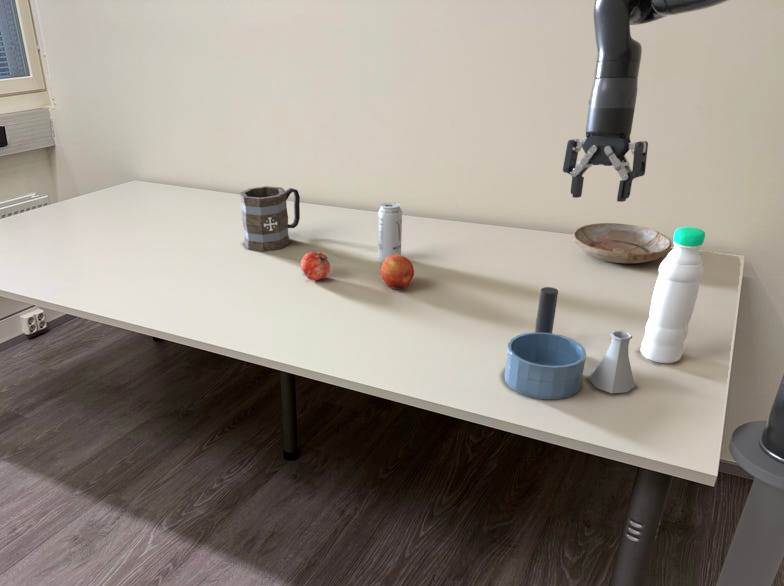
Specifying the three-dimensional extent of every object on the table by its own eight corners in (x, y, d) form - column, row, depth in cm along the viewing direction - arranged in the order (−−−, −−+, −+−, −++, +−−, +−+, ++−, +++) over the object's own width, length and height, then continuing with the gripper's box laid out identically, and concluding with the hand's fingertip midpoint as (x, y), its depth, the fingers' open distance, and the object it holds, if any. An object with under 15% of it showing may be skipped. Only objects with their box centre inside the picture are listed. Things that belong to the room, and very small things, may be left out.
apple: (406, 278, 167) (407, 248, 163) (419, 291, 160) (420, 260, 156) (376, 283, 165) (376, 252, 161) (387, 296, 158) (388, 264, 154)
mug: (262, 254, 187) (258, 201, 180) (234, 243, 196) (229, 193, 189) (315, 237, 198) (312, 187, 191) (286, 227, 207) (283, 179, 200)
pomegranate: (297, 288, 171) (314, 274, 162) (290, 261, 172) (306, 246, 163) (322, 284, 174) (340, 271, 165) (315, 258, 175) (332, 243, 166)
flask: (580, 379, 122) (589, 330, 117) (611, 370, 124) (621, 321, 119) (611, 398, 116) (622, 347, 111) (642, 388, 118) (654, 338, 113)
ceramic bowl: (582, 272, 165) (586, 253, 163) (562, 240, 186) (564, 223, 183) (682, 271, 162) (686, 252, 160) (649, 239, 183) (653, 222, 180)
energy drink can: (398, 265, 175) (399, 209, 168) (376, 263, 177) (376, 208, 170) (402, 257, 180) (404, 202, 173) (380, 255, 182) (381, 201, 175)
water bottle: (670, 368, 123) (703, 239, 111) (633, 356, 128) (660, 230, 116) (687, 355, 127) (720, 229, 115) (649, 343, 132) (678, 220, 120)
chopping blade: (572, 345, 133) (581, 290, 127) (548, 360, 128) (557, 303, 122) (535, 332, 139) (542, 278, 133) (511, 345, 134) (517, 290, 128)
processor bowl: (594, 380, 121) (600, 348, 118) (553, 408, 114) (559, 375, 111) (531, 355, 130) (535, 325, 127) (489, 379, 123) (492, 349, 120)
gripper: (662, 105, 115) (646, 200, 121) (583, 105, 125) (572, 194, 131) (643, 105, 110) (627, 205, 116) (563, 106, 120) (552, 197, 126)
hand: (598, 199), depth 124 cm, fingers open, 8 cm apart
